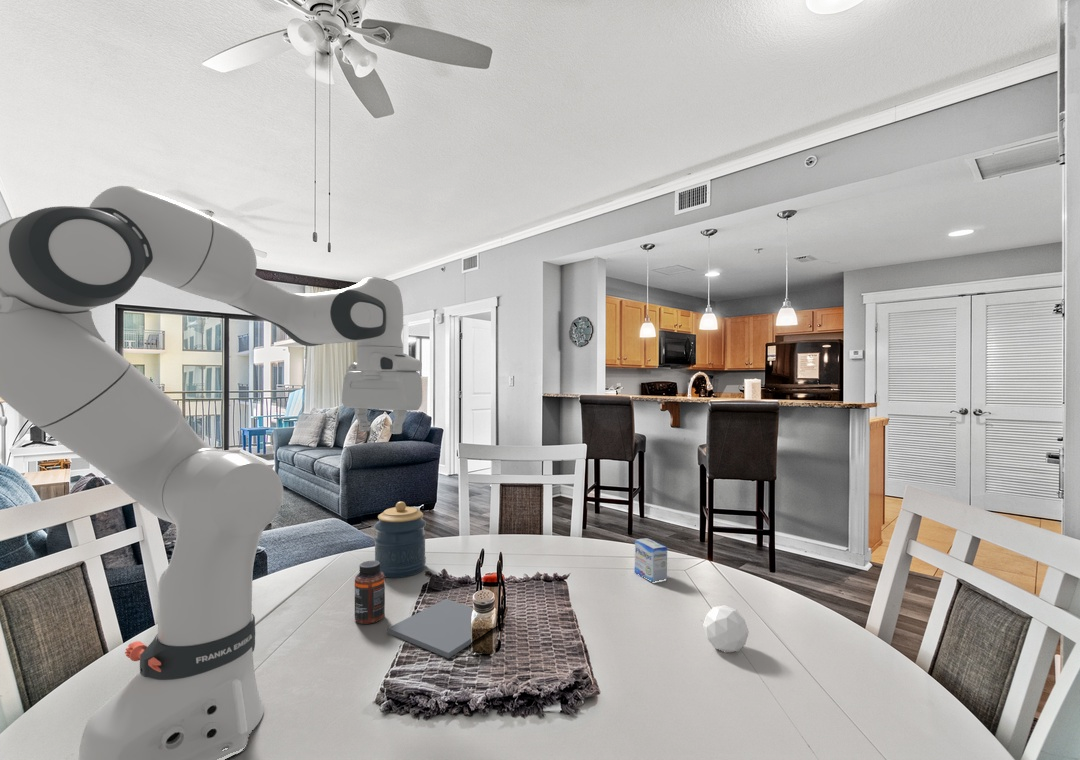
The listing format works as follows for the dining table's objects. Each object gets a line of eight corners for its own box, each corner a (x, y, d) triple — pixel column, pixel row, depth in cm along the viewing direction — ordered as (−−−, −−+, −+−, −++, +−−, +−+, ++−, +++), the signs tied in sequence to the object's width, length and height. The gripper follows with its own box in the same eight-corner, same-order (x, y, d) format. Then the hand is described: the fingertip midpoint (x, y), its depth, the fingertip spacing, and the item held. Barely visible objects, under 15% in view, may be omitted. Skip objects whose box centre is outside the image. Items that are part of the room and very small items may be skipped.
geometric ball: (730, 659, 94) (753, 622, 95) (735, 666, 87) (759, 626, 88) (694, 631, 97) (716, 595, 98) (695, 635, 90) (720, 596, 91)
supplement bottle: (389, 612, 106) (389, 559, 106) (377, 626, 100) (378, 569, 100) (362, 611, 107) (362, 557, 107) (348, 624, 101) (349, 568, 101)
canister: (374, 563, 135) (374, 497, 135) (423, 558, 139) (424, 494, 139) (373, 581, 123) (374, 509, 123) (427, 575, 126) (428, 505, 126)
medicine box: (633, 573, 129) (634, 539, 129) (648, 570, 131) (648, 537, 131) (653, 584, 122) (653, 548, 122) (667, 581, 124) (667, 546, 124)
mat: (448, 658, 89) (448, 652, 89) (387, 633, 97) (387, 628, 97) (503, 622, 102) (503, 617, 102) (445, 603, 111) (446, 598, 111)
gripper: (334, 362, 102) (333, 430, 102) (402, 360, 91) (401, 437, 91) (360, 363, 108) (360, 428, 108) (427, 362, 96) (427, 434, 96)
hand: (379, 432), depth 99 cm, fingers open, 8 cm apart
